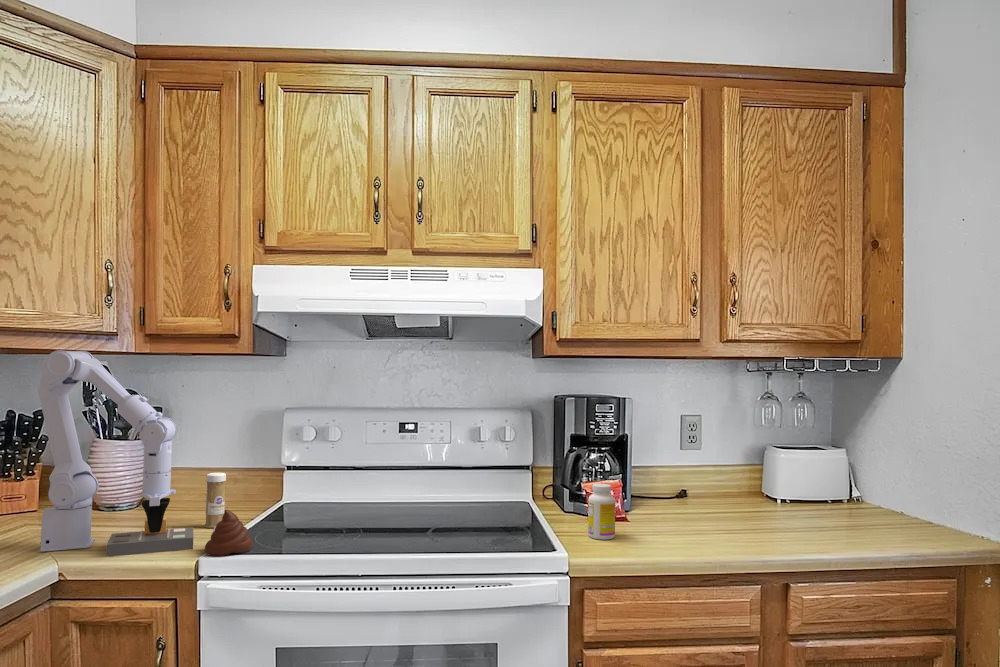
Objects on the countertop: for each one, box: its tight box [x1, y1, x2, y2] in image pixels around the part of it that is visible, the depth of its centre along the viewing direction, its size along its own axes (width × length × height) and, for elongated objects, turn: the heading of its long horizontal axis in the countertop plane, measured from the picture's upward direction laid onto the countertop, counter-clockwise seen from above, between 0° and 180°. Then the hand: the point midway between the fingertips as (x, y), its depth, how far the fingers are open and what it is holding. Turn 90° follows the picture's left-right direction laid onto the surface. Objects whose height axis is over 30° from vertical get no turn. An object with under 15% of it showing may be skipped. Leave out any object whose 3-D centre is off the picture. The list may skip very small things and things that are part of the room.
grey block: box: [105, 527, 194, 557], centre depth 155 cm, size 17×10×3 cm, turn 114°
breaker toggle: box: [144, 516, 168, 534], centre depth 158 cm, size 4×3×3 cm
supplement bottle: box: [587, 483, 616, 541], centre depth 171 cm, size 7×7×13 cm
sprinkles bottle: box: [204, 472, 227, 529], centre depth 174 cm, size 5×5×14 cm
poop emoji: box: [204, 509, 254, 557], centre depth 153 cm, size 10×8×9 cm
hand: (154, 531), depth 156 cm, fingers closed
